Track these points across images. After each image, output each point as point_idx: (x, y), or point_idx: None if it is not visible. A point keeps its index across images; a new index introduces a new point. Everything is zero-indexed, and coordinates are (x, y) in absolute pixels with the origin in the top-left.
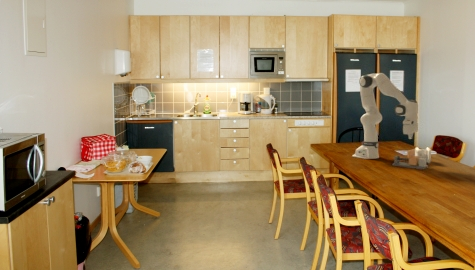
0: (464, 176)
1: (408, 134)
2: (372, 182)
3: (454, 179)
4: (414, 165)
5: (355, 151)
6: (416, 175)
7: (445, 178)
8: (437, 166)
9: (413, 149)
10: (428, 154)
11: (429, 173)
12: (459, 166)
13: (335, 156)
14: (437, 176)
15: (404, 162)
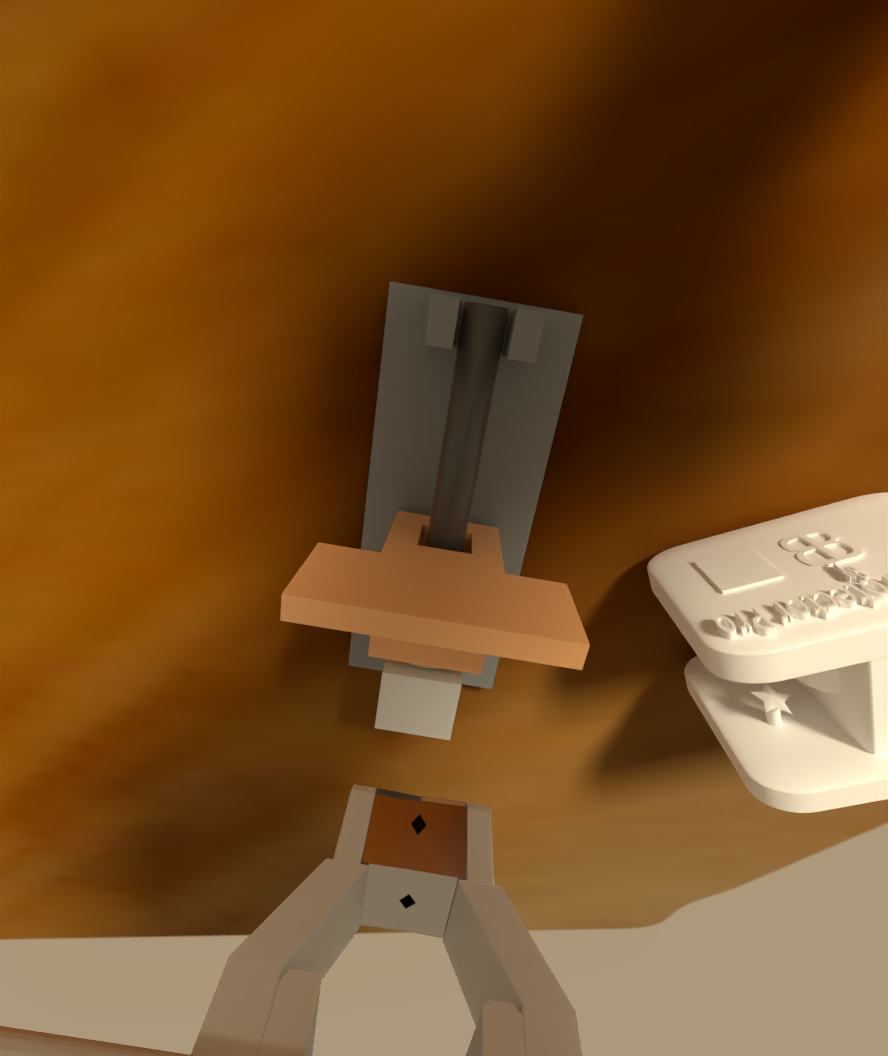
0: None
1: (222, 983)
2: None
3: (140, 869)
4: None
5: None
6: (58, 642)
7: (126, 825)
8: (583, 737)
9: (519, 652)
10: (737, 735)
11: (220, 718)
12: (662, 871)
13: None
14: (151, 778)
15: (554, 422)
